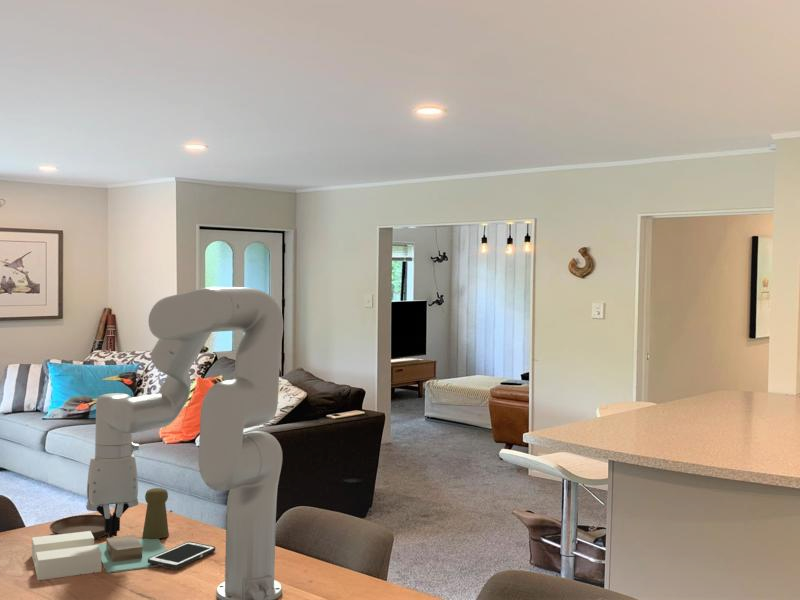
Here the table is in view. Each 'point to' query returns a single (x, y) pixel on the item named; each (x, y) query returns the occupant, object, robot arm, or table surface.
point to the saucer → (80, 525)
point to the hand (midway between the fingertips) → (111, 534)
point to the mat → (148, 550)
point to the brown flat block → (124, 548)
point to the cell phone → (181, 555)
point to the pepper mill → (156, 514)
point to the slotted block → (65, 555)
